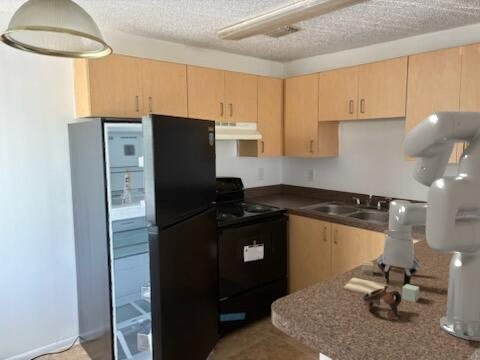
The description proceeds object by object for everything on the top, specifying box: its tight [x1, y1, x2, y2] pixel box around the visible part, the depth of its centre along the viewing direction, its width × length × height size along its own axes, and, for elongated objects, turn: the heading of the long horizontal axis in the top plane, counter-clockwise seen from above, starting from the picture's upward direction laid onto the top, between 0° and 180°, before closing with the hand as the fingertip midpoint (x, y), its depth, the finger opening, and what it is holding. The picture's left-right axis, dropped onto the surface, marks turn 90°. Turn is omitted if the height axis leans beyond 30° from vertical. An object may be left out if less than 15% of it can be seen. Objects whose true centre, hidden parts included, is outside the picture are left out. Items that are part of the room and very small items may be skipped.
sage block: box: [401, 284, 420, 303], centre depth 121 cm, size 4×4×4 cm
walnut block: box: [388, 268, 406, 289], centre depth 134 cm, size 5×5×5 cm
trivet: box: [342, 277, 387, 296], centre depth 130 cm, size 12×12×1 cm
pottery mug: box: [362, 288, 402, 321], centre depth 112 cm, size 12×10×8 cm
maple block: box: [362, 261, 375, 276], centre depth 145 cm, size 4×4×4 cm
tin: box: [377, 253, 420, 276], centre depth 144 cm, size 15×3×8 cm, turn 73°
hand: (397, 282), depth 134 cm, fingers open, 5 cm apart
